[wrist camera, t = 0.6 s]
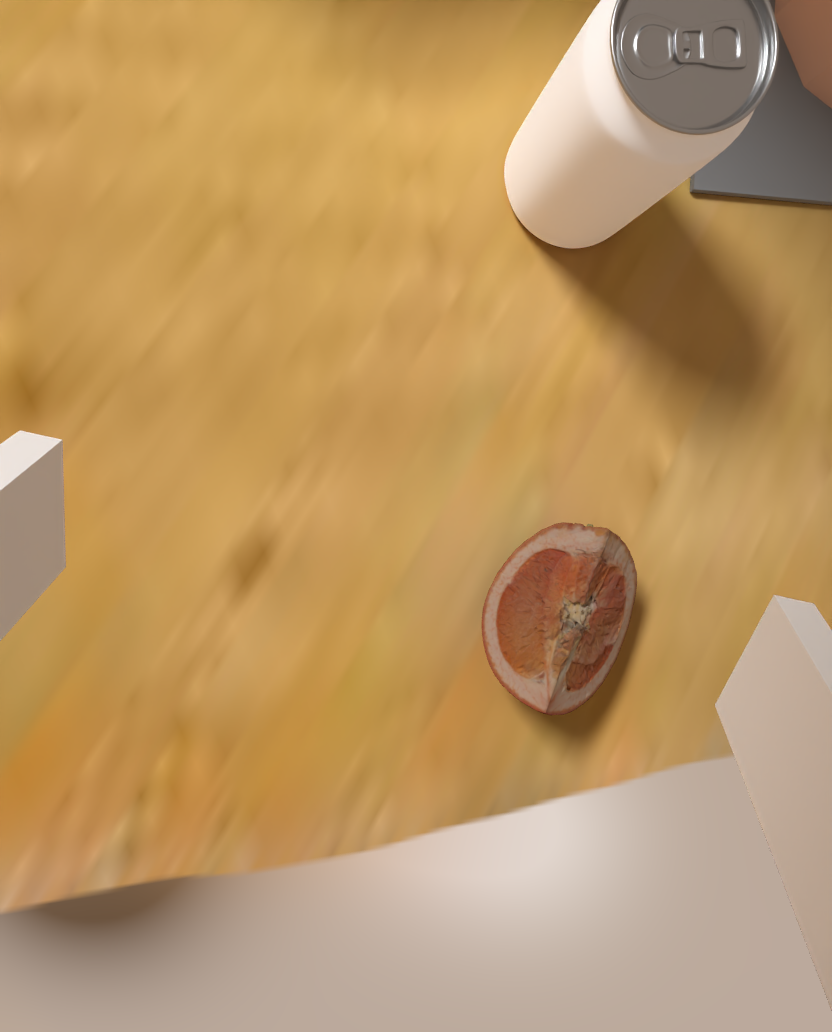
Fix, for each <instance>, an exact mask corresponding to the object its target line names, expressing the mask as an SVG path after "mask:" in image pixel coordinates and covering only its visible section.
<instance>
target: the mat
mask: <svg viewBox="0 0 832 1032" xmlns="http://www.w3.org/2000/svg"><path fill="white" fill-rule="evenodd" d="M769 2H770V4H771V7H772V9H773V12H774V13H775V0H769ZM776 23H777V22H776ZM777 29H778V38H779V52H778V61H777V66H776V70H775V74H774V77H773V80H772V82H771V85H770V87H769V89H768V91H767V93H766V94H765V96H764V98H763V99H762V101H761V102H760V103H759V105H758V106H757V107H756V108H755V110H754V112H753V114H752V116H751V118H750V120H749V122H748V123H747V125H746V127H745V128H744V129H743V131H742V132H741V133H740V135H739V136H738V137H737V138H736V139H735V140H734V141H733V142H732V143H731V144H730V145H729V146H728V147H727V148H726V149H725V150H723V151H722V152H721V153H720V154H719V155H718V156H716V157H715V158H714V159H712V160H711V161H710V162H709V163H707V164H706V165H705V166H703V167H702V168H701V169H700V170H698V171H697V172H696V173H694V174H693V175H692V176H691V180H690V192H694V193H705V194H715V195H726V196H737V197H748V198H759V199H769V200H780V201H791V202H802V203H813V204H823V205H832V109H831V108H830V107H829V106H828V105H826V104H825V103H824V102H822V101H821V100H820V99H819V98H817V97H816V96H815V95H814V94H812V93H811V92H810V91H809V90H807V89H806V88H805V87H804V86H803V84H802V81H801V79H800V77H799V74H798V72H797V69H796V67H795V65H794V62H793V60H792V58H791V55H790V53H789V50H788V48H787V46H786V43H785V41H784V39H783V36H782V34H781V31H780V29H779V27H778V24H777Z"/></svg>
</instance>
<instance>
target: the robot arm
mask: <svg viewBox="0 0 832 1032" xmlns="http://www.w3.org/2000/svg"><path fill="white" fill-rule="evenodd" d="M65 567H66V558H65V519H64V480H63V442H62V440H61V439H56V438H52V437H47V436H43V435H38V434H33V433H29V432H24V431H18V432H17V433H15V434H14V435H13V436H11V437H10V438H8V439H7V440H6V441H4V442H3V443H2V444H0V641H1V640H2V638H3V637H4V636H5V635H6V634H7V633H8V632H9V631H10V629H11V628H12V627H13V626H14V625H15V624H16V623H17V621H18V620H19V619H20V618H21V617H22V616H23V615H24V614H25V612H26V611H27V610H28V609H29V608H30V607H31V606H32V605H33V603H34V602H35V601H36V600H37V599H38V598H39V597H40V596H41V594H42V593H43V592H44V591H45V590H46V589H47V588H48V587H49V585H50V584H51V583H52V582H53V581H54V580H55V579H56V577H57V576H58V575H59V574H60V573H61V572H62V571H63V570H64V568H65ZM715 707H716V709H717V712H718V715H719V717H720V720H721V722H722V725H723V728H724V730H725V733H726V735H727V738H728V741H729V743H730V746H731V749H732V751H733V754H734V756H735V759H736V762H737V764H738V767H739V769H740V772H741V775H742V777H743V780H744V783H745V785H746V788H747V790H748V793H749V796H750V798H751V801H752V803H753V806H754V809H755V811H756V814H757V816H758V819H759V822H760V824H761V827H762V830H763V832H764V835H765V838H766V840H767V843H768V845H769V848H770V850H771V853H772V856H773V858H774V861H775V863H776V866H777V869H778V871H779V874H780V876H781V879H782V882H783V884H784V887H785V890H786V892H787V895H788V897H789V900H790V903H791V906H792V908H793V911H794V913H795V916H796V919H797V921H798V924H799V926H800V929H801V932H802V934H803V937H804V940H805V942H806V945H807V947H808V950H809V953H810V955H811V958H812V960H813V963H814V966H815V968H816V971H817V973H818V976H819V979H820V981H821V984H822V986H823V989H824V992H825V994H826V997H827V1000H828V1002H829V1005H830V1008H831V1010H832V630H831V629H830V627H829V626H828V624H827V623H826V621H825V620H824V618H823V617H822V615H821V613H820V612H819V610H818V609H817V607H816V606H815V604H814V603H809V602H804V601H800V600H795V599H791V598H786V597H782V596H777V595H773V597H772V599H771V601H770V603H769V605H768V607H767V609H766V610H765V612H764V614H763V616H762V618H761V620H760V622H759V623H758V625H757V627H756V629H755V631H754V633H753V635H752V637H751V638H750V640H749V642H748V644H747V646H746V648H745V650H744V651H743V653H742V655H741V657H740V659H739V661H738V663H737V665H736V666H735V668H734V670H733V672H732V674H731V676H730V678H729V679H728V681H727V683H726V685H725V687H724V689H723V691H722V693H721V694H720V696H719V698H718V700H717V702H716V704H715Z"/></svg>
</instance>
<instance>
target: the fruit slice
mask: <svg viewBox="0 0 832 1032" xmlns="http://www.w3.org/2000/svg"><path fill="white" fill-rule="evenodd" d="M636 587H637V572H636V569H635V565H634V561H633V558H632V556H631V554H630V551H629V549H628V548H627V546H626V544H625V543H624V542H623V541H622V540H621V539H620V537H619V536H618V535H616V534H614V533H613V532H612V531H610V530H609V529H607V528H601V527H593V525H591V524H588V525H587V527H585V526H584V525H583V524H578V523H575V524H573V523H558V524H554V525H552V526H550V527H548V528H545V529H543V530H541V531H539V532H538V533H536V534H535V535H534V536H532V537H531V538H529V539H527V540H526V541H525V542H524V543H523V544H522V545H520V546H519V547H518V548H517V549H516V550H515V551H514V552H513V554H512V555H511V556H510V557H509V558H508V559H507V561H506V562H505V563H504V565H503V566H502V568H501V569H500V571H499V572H498V573H497V575H496V577H495V579H494V581H493V583H492V585H491V587H490V589H489V592H488V594H487V597H486V600H485V604H484V608H483V614H482V635H483V643H484V648H485V652H486V655H487V659H488V662H489V665H490V667H491V669H492V671H493V673H494V675H495V676H496V677H497V679H498V680H499V682H500V683H501V684H502V686H503V687H505V688H506V689H507V690H508V691H509V692H510V693H511V694H512V695H513V696H514V697H516V698H517V699H518V700H520V701H521V702H523V703H524V704H526V705H528V706H529V707H531V708H533V709H535V710H537V711H539V712H542V713H544V714H548V715H562V714H566V713H569V712H572V711H573V710H575V709H577V708H578V707H579V706H580V705H582V704H584V703H585V702H586V701H587V700H588V699H589V698H590V697H591V696H592V695H593V694H594V693H595V692H596V691H597V689H598V688H599V687H600V686H601V684H602V683H603V681H604V680H605V678H606V676H607V675H608V673H609V671H610V670H611V668H612V666H613V664H614V662H615V660H616V658H617V656H618V653H619V651H620V649H621V646H622V643H623V640H624V637H625V634H626V631H627V628H628V625H629V621H630V618H631V613H632V608H633V604H634V600H635V594H636Z"/></svg>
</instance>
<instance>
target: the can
mask: <svg viewBox="0 0 832 1032" xmlns="http://www.w3.org/2000/svg"><path fill="white" fill-rule="evenodd" d="M778 52H779V38H778V29H777V23H776V19H775V15H774V12H773V9H772V7H771V4H770V2H769V0H601V1H600V2H599V3H598V5H597V6H596V7H595V9H594V10H593V12H592V13H591V15H590V16H589V18H588V19H587V21H586V22H585V24H584V26H583V27H582V29H581V30H580V32H579V33H578V35H577V36H576V38H575V40H574V41H573V43H572V44H571V46H570V48H569V49H568V51H567V52H566V54H565V56H564V57H563V59H562V60H561V62H560V64H559V65H558V67H557V68H556V70H555V72H554V73H553V75H552V76H551V78H550V80H549V81H548V83H547V85H546V86H545V88H544V89H543V91H542V93H541V94H540V96H539V98H538V99H537V101H536V102H535V104H534V106H533V107H532V109H531V111H530V112H529V114H528V115H527V117H526V119H525V120H524V122H523V124H522V125H521V127H520V129H519V130H518V132H517V134H516V136H515V137H514V139H513V141H512V144H511V146H510V148H509V151H508V154H507V157H506V161H505V168H504V176H505V185H506V190H507V194H508V198H509V201H510V204H511V206H512V208H513V211H514V212H515V214H516V216H517V217H518V219H519V220H520V222H521V223H522V224H523V225H524V226H525V227H526V228H527V229H528V230H529V231H530V232H531V233H532V234H533V235H535V236H536V237H538V238H539V239H541V240H543V241H545V242H547V243H549V244H551V245H554V246H558V247H563V248H584V247H589V246H592V245H595V244H598V243H600V242H602V241H604V240H606V239H607V238H609V237H610V236H612V235H613V234H615V233H616V232H617V231H619V230H620V229H622V228H623V227H624V226H626V225H627V224H628V223H630V222H631V221H632V220H634V219H635V218H636V217H638V216H639V215H640V214H642V213H643V212H644V211H646V210H647V209H648V208H650V207H651V206H652V205H654V204H655V203H656V202H658V201H659V200H660V199H662V198H663V197H664V196H666V195H667V194H668V193H670V192H671V191H672V190H673V189H675V188H676V187H677V186H679V185H680V184H681V183H683V182H684V181H685V180H687V179H688V178H689V177H690V176H692V175H693V174H694V173H696V172H697V171H698V170H700V169H701V168H702V167H703V166H705V165H706V164H707V163H709V162H710V161H711V160H712V159H714V158H715V157H716V156H718V155H719V154H720V153H721V152H722V151H723V150H725V149H726V148H727V147H728V146H729V145H730V144H731V143H732V142H733V141H734V140H735V139H736V138H737V137H738V136H739V135H740V133H741V132H742V131H743V129H744V128H745V127H746V125H747V123H748V122H749V120H750V118H751V116H752V114H753V112H754V110H755V108H756V107H757V106H758V105H759V103H760V102H761V101H762V99H763V98H764V96H765V94H766V93H767V91H768V89H769V87H770V85H771V82H772V80H773V77H774V74H775V70H776V66H777V61H778Z"/></svg>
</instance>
